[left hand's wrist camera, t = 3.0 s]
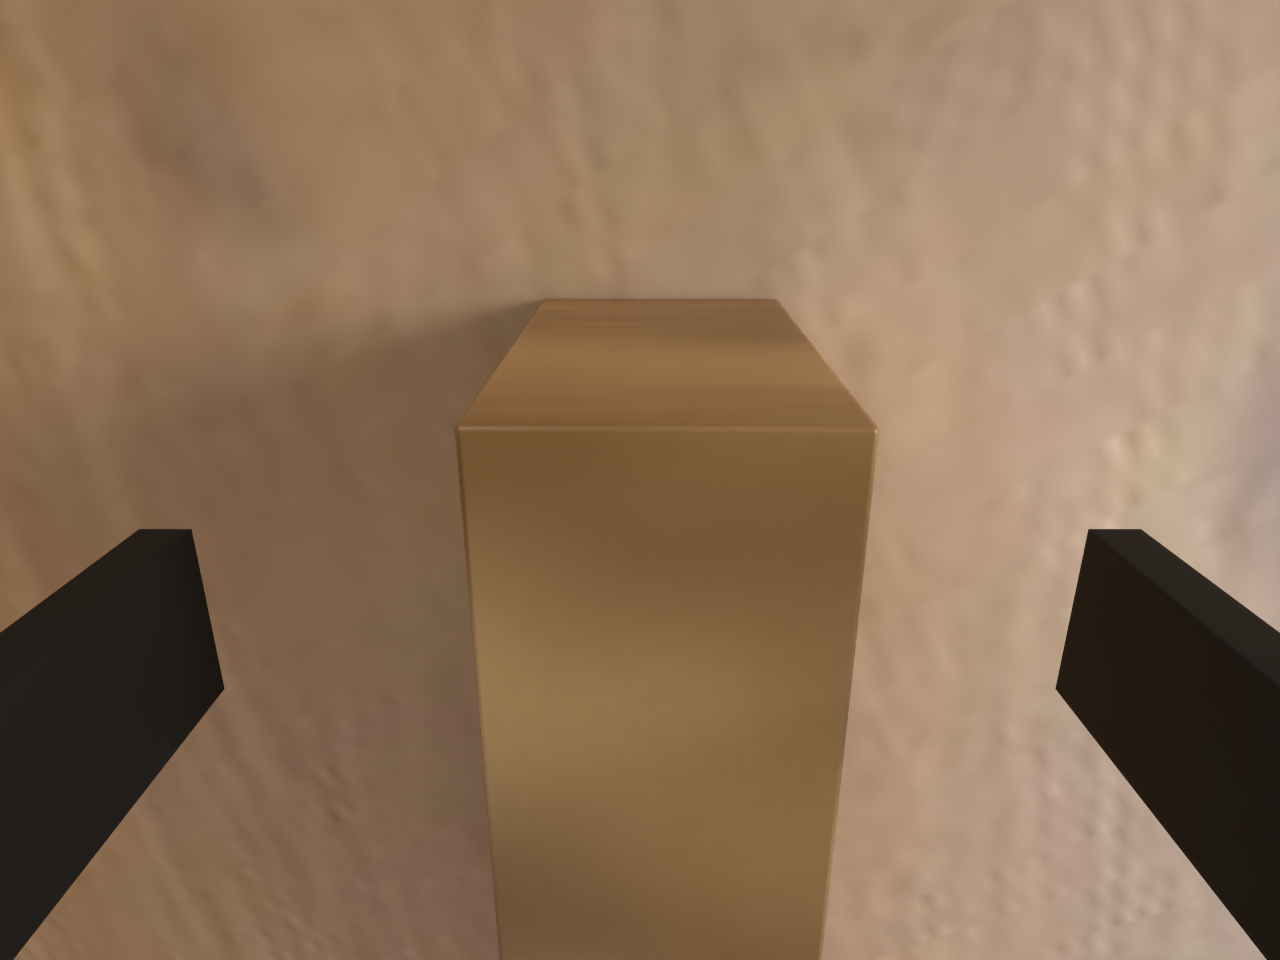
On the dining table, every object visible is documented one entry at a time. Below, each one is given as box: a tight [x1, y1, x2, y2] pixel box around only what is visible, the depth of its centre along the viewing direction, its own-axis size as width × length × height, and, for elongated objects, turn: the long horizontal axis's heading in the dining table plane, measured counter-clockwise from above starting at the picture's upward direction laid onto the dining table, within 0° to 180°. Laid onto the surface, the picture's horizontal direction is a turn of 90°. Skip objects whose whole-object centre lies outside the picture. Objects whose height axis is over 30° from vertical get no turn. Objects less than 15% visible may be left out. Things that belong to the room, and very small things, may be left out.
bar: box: [455, 299, 879, 960], centre depth 18 cm, size 24×5×8 cm, turn 0°
